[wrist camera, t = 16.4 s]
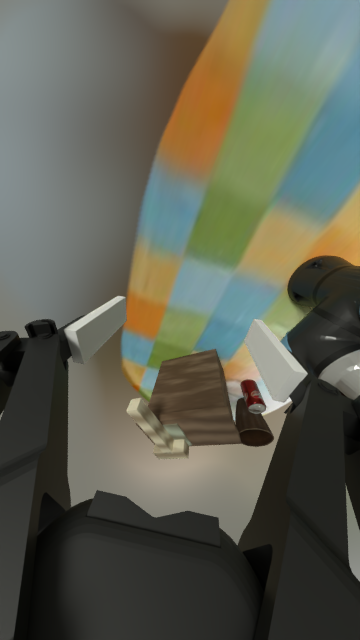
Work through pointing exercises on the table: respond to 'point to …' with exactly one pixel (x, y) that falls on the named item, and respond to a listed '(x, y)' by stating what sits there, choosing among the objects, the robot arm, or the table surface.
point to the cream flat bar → (157, 432)
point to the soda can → (252, 396)
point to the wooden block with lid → (194, 400)
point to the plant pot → (252, 426)
